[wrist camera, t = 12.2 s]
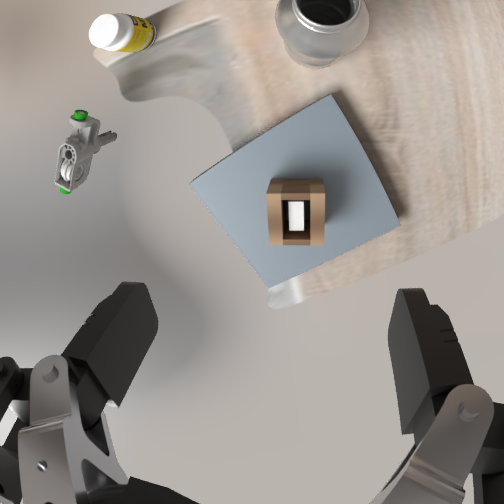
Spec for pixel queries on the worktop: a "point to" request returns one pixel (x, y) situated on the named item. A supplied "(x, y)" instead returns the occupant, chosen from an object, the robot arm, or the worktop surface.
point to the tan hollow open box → (277, 218)
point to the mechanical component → (79, 151)
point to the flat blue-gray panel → (298, 167)
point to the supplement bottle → (122, 33)
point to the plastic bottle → (321, 29)
